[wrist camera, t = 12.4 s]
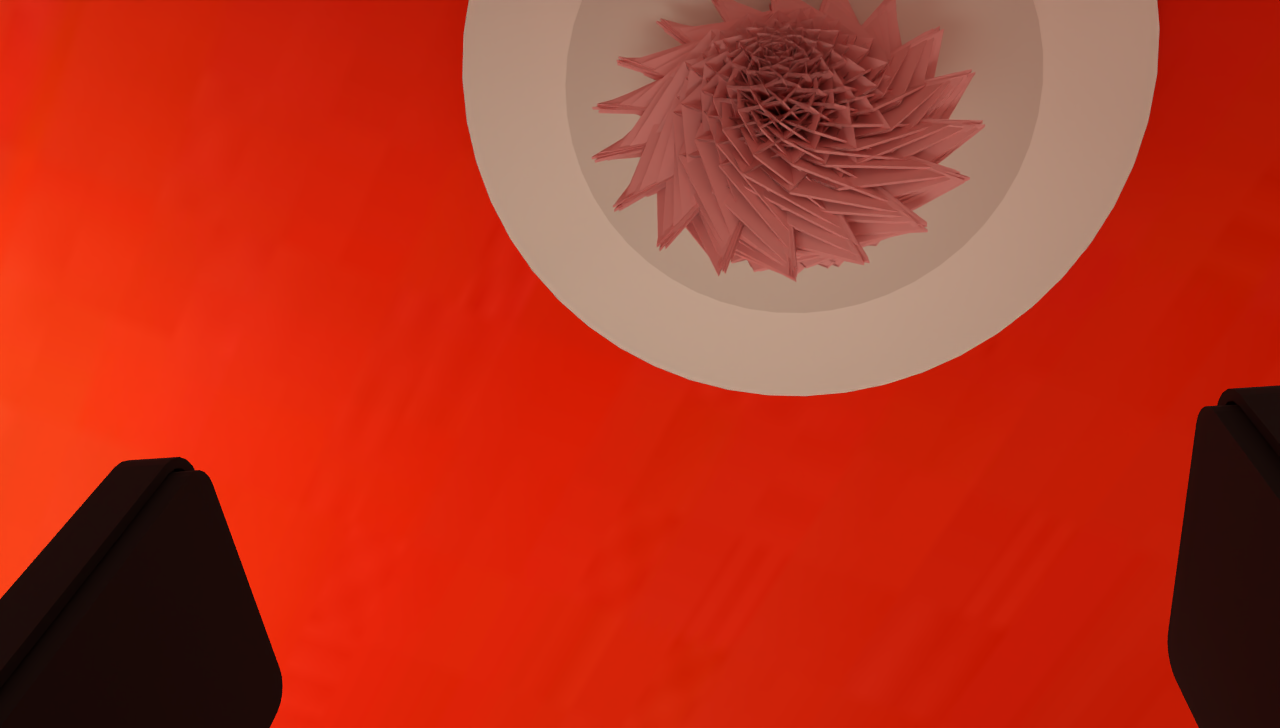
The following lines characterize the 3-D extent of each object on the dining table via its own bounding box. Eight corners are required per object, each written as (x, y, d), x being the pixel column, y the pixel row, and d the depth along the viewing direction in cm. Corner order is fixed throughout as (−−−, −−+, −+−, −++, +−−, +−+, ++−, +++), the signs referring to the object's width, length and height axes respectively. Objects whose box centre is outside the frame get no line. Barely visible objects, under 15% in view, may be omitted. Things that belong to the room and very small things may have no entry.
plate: (363, -129, 26) (345, -124, 25) (1072, -431, 22) (1090, -442, 21) (610, 435, 32) (604, 459, 31) (1189, 280, 28) (1207, 302, 27)
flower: (873, 425, 23) (887, 281, 18) (555, 286, 26) (493, 130, 21) (1018, 149, 26) (1063, -39, 21) (716, 51, 29) (695, -136, 24)
